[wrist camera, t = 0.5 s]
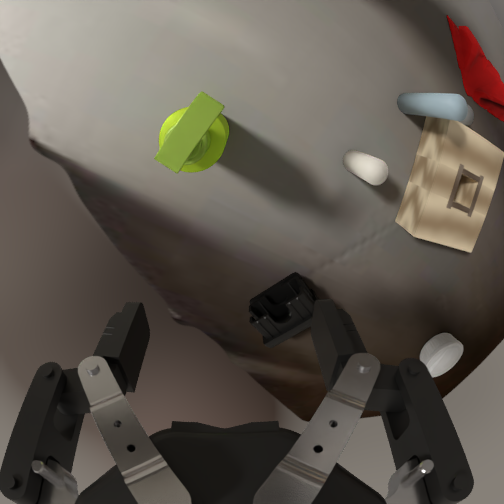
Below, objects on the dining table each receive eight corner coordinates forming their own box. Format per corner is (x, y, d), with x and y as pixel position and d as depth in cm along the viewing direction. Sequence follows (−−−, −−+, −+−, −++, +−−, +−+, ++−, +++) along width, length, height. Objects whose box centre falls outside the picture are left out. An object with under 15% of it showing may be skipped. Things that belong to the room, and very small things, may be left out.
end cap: (270, 327, 50) (274, 355, 44) (246, 301, 48) (247, 329, 42) (320, 298, 48) (330, 324, 42) (298, 268, 45) (307, 294, 39)
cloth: (424, 21, 28) (432, 19, 26) (466, 4, 25) (474, 2, 23) (486, 156, 38) (494, 158, 36) (519, 126, 35) (527, 127, 33)
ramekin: (418, 338, 55) (429, 354, 51) (457, 321, 54) (468, 336, 50) (413, 368, 60) (421, 384, 56) (448, 352, 59) (458, 366, 55)
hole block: (426, 113, 35) (451, 116, 29) (481, 145, 37) (505, 153, 31) (395, 221, 42) (414, 237, 37) (451, 237, 44) (471, 253, 39)
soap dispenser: (243, 119, 35) (251, 124, 17) (211, 161, 37) (188, 209, 19) (205, 94, 33) (174, 74, 15) (175, 137, 35) (117, 163, 18)
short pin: (441, 99, 33) (461, 100, 29) (455, 107, 34) (475, 109, 29) (438, 117, 35) (458, 120, 30) (451, 124, 35) (471, 128, 31)
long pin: (399, 89, 33) (451, 89, 22) (416, 98, 34) (469, 101, 23) (395, 109, 35) (446, 114, 24) (412, 117, 35) (464, 125, 24)
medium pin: (346, 147, 37) (368, 155, 30) (366, 153, 38) (391, 163, 31) (340, 168, 38) (361, 181, 32) (360, 174, 39) (383, 188, 32)
